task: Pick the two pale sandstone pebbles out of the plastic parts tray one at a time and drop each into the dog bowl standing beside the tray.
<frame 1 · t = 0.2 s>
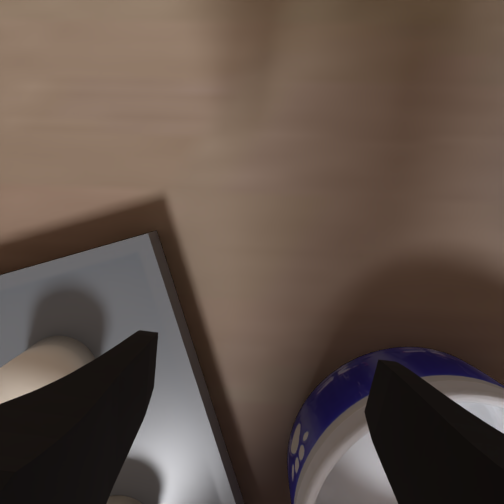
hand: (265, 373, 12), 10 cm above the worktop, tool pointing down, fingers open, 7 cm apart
pebble a: (61, 370, 22), resting on parts tray
parts tray: (94, 445, 23), on the worktop
dog bowl: (397, 450, 24), on the worktop
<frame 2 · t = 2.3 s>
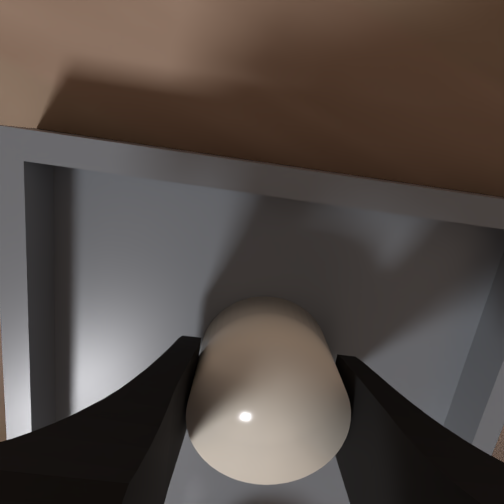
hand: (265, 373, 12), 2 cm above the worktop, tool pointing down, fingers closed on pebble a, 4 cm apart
pebble a: (263, 354, 13), resting on parts tray, touching gripper
parts tray: (242, 466, 15), on the worktop
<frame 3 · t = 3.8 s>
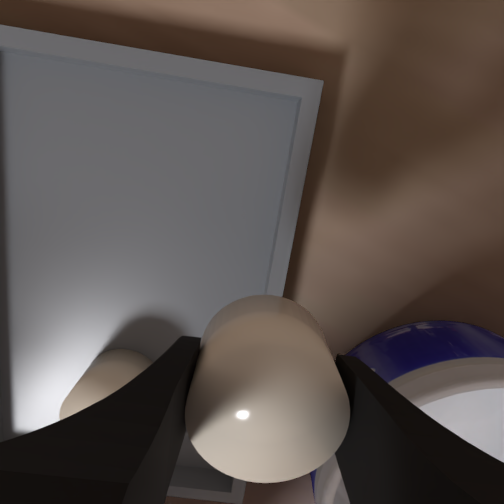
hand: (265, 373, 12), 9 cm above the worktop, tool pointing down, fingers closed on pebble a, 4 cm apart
pebble a: (262, 352, 13), point 8 cm above the worktop, touching gripper
pebble b: (124, 381, 21), resting on parts tray
parts tray: (133, 292, 20), on the worktop
dog bowl: (419, 422, 23), on the worktop
when the fingers open (7 cm above the worktop, at t = 5.3 s): pebble a stays where it is, resting on dog bowl.
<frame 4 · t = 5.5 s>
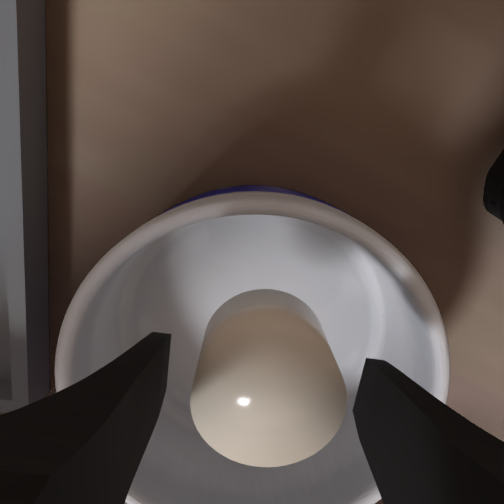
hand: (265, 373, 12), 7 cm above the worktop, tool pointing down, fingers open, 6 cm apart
pebble a: (263, 345, 13), point 6 cm above the worktop, touching dog bowl
dog bowl: (252, 321, 20), on the worktop, touching pebble a
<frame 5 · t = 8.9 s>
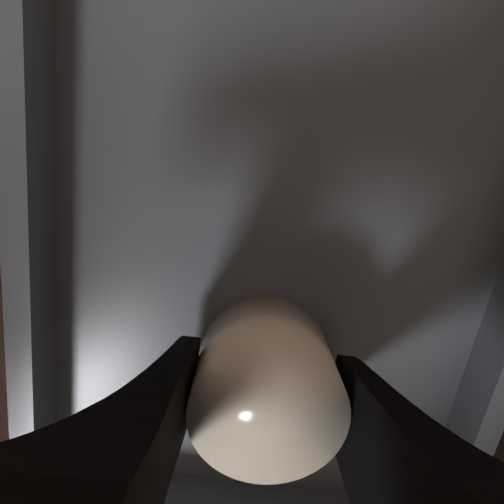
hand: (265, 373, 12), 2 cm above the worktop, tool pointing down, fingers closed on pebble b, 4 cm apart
pebble b: (263, 354, 13), resting on parts tray, touching gripper
parts tray: (289, 196, 12), on the worktop
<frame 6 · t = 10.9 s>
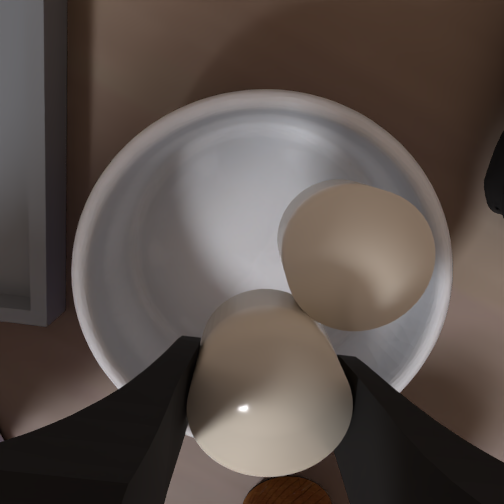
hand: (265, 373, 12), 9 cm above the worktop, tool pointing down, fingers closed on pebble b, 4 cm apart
pebble a: (335, 238, 14), point 6 cm above the worktop, touching dog bowl, pebble b
pebble b: (264, 347, 13), point 8 cm above the worktop, touching gripper, pebble a
dog bowl: (259, 252, 20), on the worktop, touching pebble a
when the fingers open (7 cm above the worktop, at t = 11.7 s): pebble b moves 1 cm, point 6 cm above the worktop.
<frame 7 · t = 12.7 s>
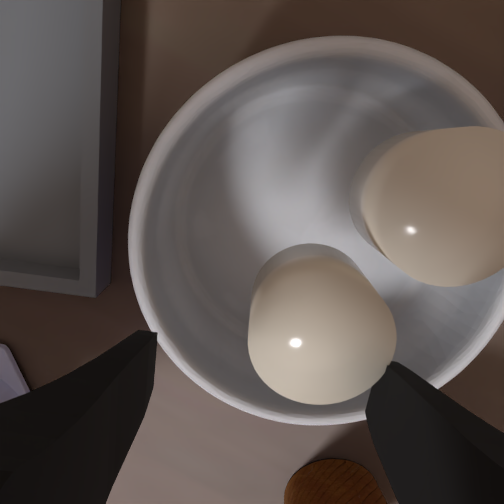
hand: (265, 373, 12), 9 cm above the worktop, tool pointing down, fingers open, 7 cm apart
pebble a: (410, 196, 13), point 6 cm above the worktop, touching dog bowl
disposable coffee cup: (330, 492, 24), on the worktop
pebble b: (308, 298, 14), point 6 cm above the worktop, touching gripper
dog bowl: (306, 226, 20), on the worktop, touching pebble a
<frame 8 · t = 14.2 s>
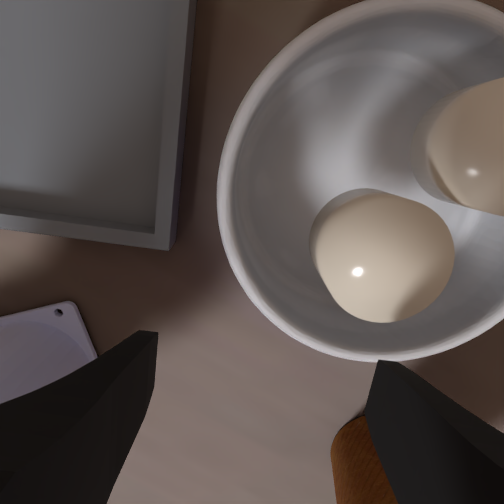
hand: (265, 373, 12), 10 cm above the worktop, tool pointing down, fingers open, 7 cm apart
pebble a: (465, 147, 14), point 6 cm above the worktop, touching dog bowl
disposable coffee cup: (373, 447, 26), on the worktop
pebble b: (360, 240, 15), point 6 cm above the worktop
dog bowl: (357, 187, 21), on the worktop, touching pebble a
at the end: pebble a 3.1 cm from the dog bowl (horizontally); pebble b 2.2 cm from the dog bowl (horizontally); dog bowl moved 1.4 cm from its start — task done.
